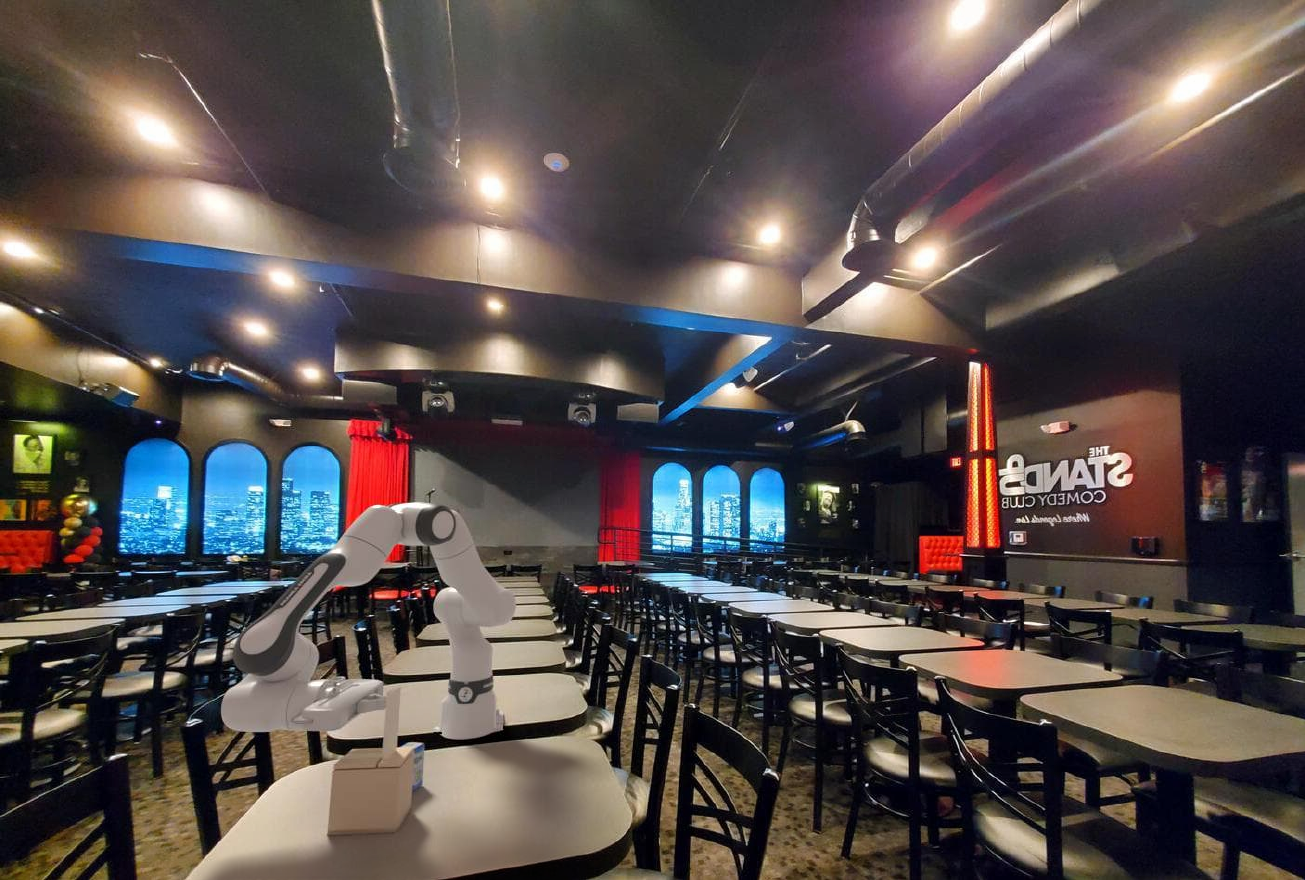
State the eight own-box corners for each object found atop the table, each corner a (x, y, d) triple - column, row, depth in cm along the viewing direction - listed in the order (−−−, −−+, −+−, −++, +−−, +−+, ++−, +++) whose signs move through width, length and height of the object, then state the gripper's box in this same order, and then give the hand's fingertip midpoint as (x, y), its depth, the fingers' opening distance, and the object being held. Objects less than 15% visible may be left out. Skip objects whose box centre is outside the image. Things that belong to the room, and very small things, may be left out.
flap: (393, 751, 110) (397, 684, 112) (414, 750, 110) (418, 683, 112) (377, 767, 102) (382, 695, 105) (399, 766, 103) (404, 694, 105)
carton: (347, 813, 108) (352, 748, 110) (410, 810, 109) (414, 745, 111) (327, 835, 100) (333, 764, 102) (395, 831, 101) (399, 762, 103)
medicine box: (399, 802, 112) (402, 756, 113) (380, 800, 113) (383, 755, 114) (422, 785, 120) (425, 742, 121) (404, 783, 120) (407, 741, 122)
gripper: (286, 704, 97) (366, 701, 98) (341, 674, 117) (408, 672, 118) (282, 742, 96) (364, 739, 97) (338, 705, 116) (406, 703, 117)
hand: (388, 702), depth 108 cm, fingers closed
